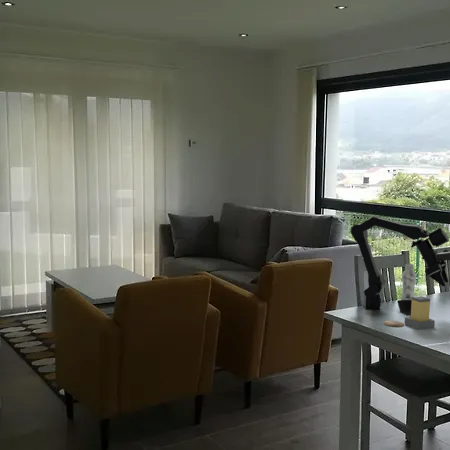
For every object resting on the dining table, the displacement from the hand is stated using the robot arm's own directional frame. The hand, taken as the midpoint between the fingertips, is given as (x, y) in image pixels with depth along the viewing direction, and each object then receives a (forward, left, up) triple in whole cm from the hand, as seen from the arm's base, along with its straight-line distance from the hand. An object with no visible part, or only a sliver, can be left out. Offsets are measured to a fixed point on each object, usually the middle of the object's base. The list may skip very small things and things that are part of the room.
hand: (445, 284), depth 258 cm
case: (-17, -11, -15) cm, 25 cm away
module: (-15, -14, -14) cm, 26 cm away
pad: (-25, -13, -15) cm, 32 cm away
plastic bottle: (-10, +17, -15) cm, 25 cm away
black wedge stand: (-11, +6, -15) cm, 20 cm away
